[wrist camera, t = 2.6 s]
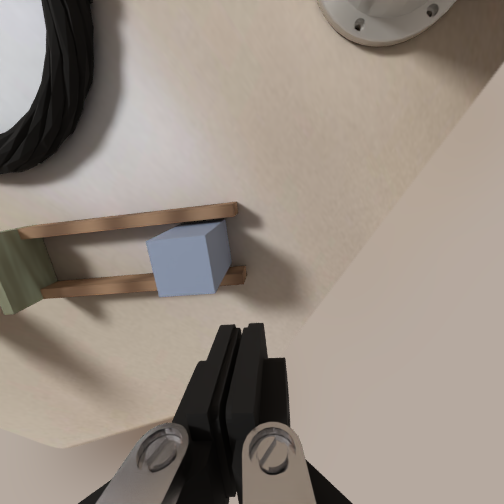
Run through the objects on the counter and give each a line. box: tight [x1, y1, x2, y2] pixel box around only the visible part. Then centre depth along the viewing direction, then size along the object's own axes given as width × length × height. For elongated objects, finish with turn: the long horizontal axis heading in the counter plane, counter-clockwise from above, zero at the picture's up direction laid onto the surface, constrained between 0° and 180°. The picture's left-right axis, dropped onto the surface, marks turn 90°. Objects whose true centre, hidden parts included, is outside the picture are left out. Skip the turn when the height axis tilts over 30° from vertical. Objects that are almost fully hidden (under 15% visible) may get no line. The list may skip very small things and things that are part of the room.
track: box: [0, 202, 247, 315], centre depth 27 cm, size 25×8×6 cm, turn 97°
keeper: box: [146, 219, 232, 297], centre depth 25 cm, size 5×5×8 cm
